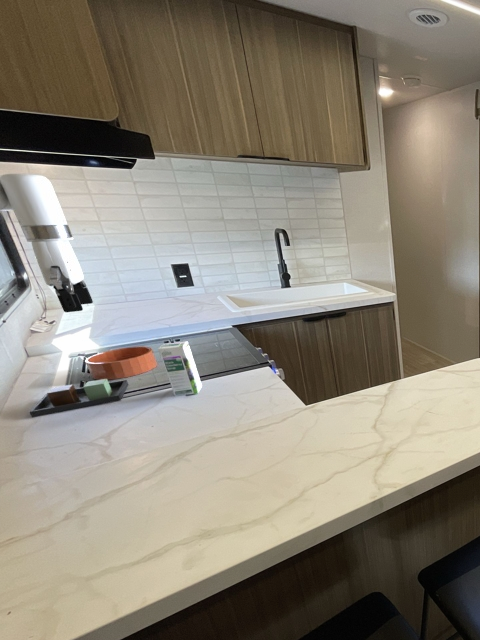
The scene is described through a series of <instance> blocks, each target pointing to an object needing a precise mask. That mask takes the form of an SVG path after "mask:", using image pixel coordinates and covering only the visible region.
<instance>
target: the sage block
mask: <svg viewBox="0 0 480 640" xmlns="http://www.w3.org/2000/svg"><path fill="white" fill-rule="evenodd" d="M109 383H110V382H109V380H107V379H102V380H97V379H95V380H91V381H86V383H84V385H83V388H84V390H85V392H86V395H87V397H88V399H89V400H93V399H99V398H104V397H110V395H111V393H112V390H111V388H110V385H109Z"/></svg>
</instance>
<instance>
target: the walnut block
mask: <svg viewBox="0 0 480 640" xmlns="http://www.w3.org/2000/svg"><path fill="white" fill-rule="evenodd" d="M75 389H76V387H75V385H74V384H66V385H61V386H54V387H51V388H50V389H49V390H48V391H47V392H46V394H48V396H49V399H50V401H51V403H52V405H53V407H55V406H61V405H66V404H72V403H76V402H77V400H78V399H79V396H78V394H77V392H76V390H75Z"/></svg>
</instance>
